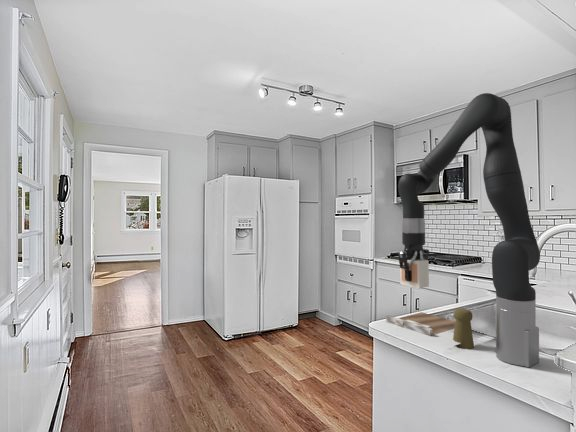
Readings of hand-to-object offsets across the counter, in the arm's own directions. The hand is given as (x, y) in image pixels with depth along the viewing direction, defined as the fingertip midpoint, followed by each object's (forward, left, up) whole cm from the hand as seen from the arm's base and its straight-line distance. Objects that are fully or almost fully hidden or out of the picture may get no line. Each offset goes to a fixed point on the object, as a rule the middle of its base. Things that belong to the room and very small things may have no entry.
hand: (413, 279), depth 124 cm
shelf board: (-1, -5, -17) cm, 18 cm away
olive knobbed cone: (-18, 0, -18) cm, 25 cm away
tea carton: (0, 0, -2) cm, 2 cm away
